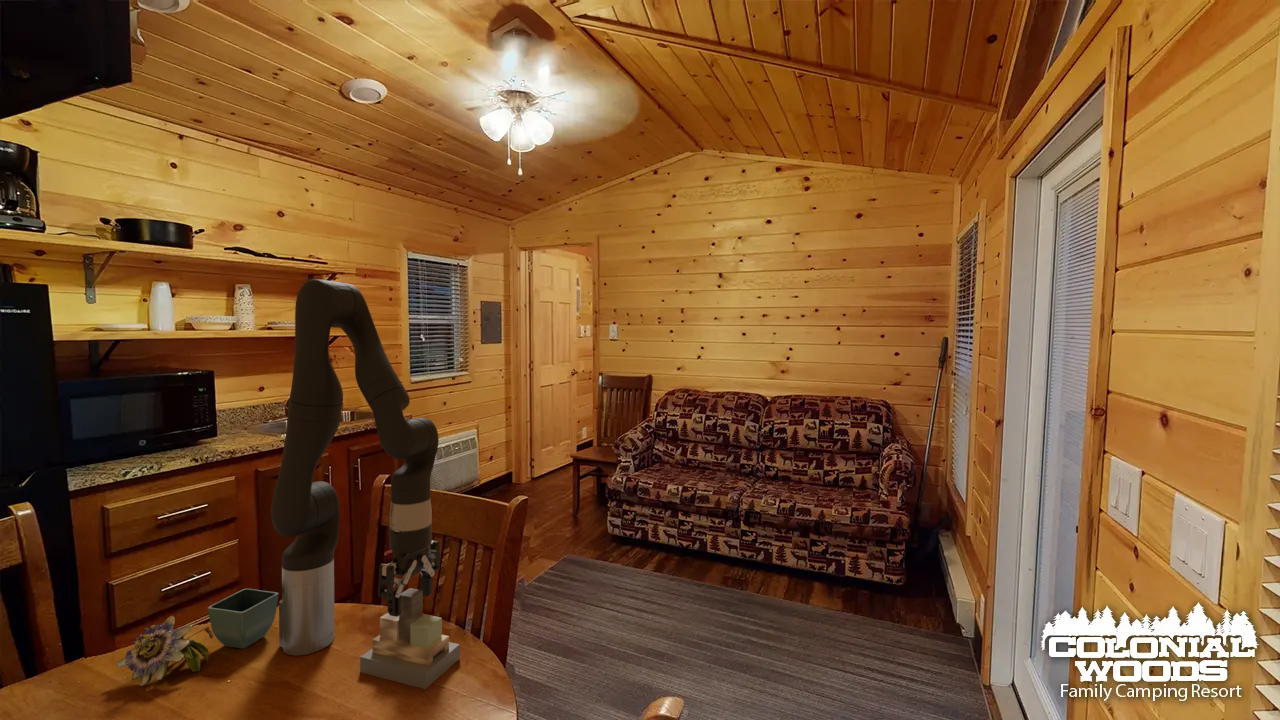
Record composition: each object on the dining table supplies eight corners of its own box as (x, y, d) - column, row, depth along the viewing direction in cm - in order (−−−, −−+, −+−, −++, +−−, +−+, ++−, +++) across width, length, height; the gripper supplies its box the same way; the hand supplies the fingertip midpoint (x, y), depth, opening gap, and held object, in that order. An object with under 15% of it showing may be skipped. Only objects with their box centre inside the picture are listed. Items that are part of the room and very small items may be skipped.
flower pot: (243, 656, 109) (242, 612, 108) (206, 650, 111) (205, 607, 110) (280, 633, 117) (279, 592, 117) (246, 628, 119) (245, 587, 119)
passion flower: (147, 712, 100) (95, 669, 97) (187, 666, 111) (141, 626, 108) (198, 679, 100) (147, 635, 97) (233, 636, 111) (188, 595, 107)
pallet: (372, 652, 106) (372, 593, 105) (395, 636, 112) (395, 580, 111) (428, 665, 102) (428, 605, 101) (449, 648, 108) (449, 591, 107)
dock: (360, 672, 104) (360, 656, 104) (398, 644, 114) (398, 630, 114) (425, 689, 100) (425, 673, 100) (459, 658, 109) (459, 644, 109)
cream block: (380, 637, 106) (379, 617, 106) (395, 627, 110) (395, 608, 110) (396, 641, 105) (396, 621, 105) (411, 631, 109) (411, 611, 109)
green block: (410, 644, 104) (410, 624, 104) (424, 634, 108) (424, 614, 108) (427, 648, 103) (427, 628, 103) (441, 637, 107) (441, 617, 107)
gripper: (420, 509, 114) (420, 586, 114) (366, 532, 100) (366, 619, 101) (451, 513, 111) (450, 591, 112) (399, 537, 98) (399, 626, 98)
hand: (411, 604), depth 106 cm, fingers open, 8 cm apart
